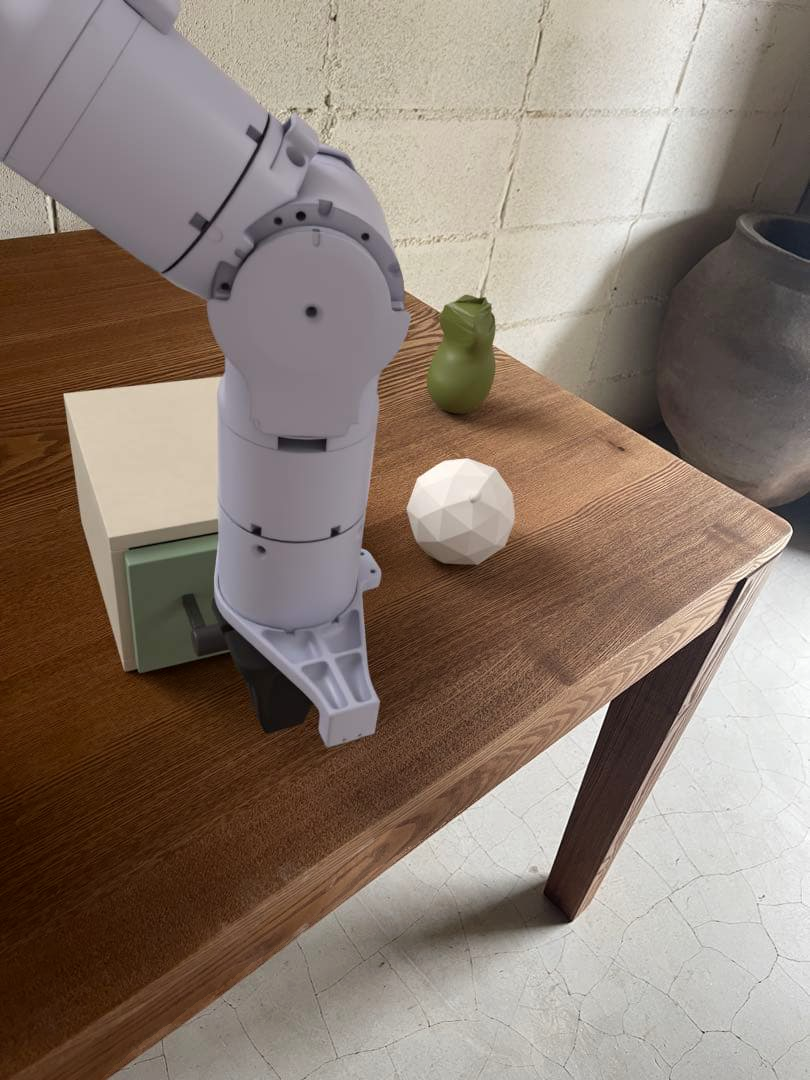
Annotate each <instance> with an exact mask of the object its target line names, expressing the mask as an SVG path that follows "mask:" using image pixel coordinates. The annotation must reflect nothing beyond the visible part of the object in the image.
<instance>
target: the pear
mask: <svg viewBox="0 0 810 1080" xmlns="http://www.w3.org/2000/svg"><path fill="white" fill-rule="evenodd" d="M492 305H493V304H492V303H490V302H488V300H487V296H484V297H483V296H482V297H477V296H474V295H470V294H463V295H462V296H460V297H459V298H457V299H456V300H454V301H451V302H449V303H446V304H444V306H443V309H442V310H441V312H440V313H439V317H438V321H439V325H440V328H441V331H442V333H443V336H442V341H441V342H440V343H439V345H438V347H437V348H436V350H435V352H434V354H433V356H432V359H431V361H430V364H429V367H428V370H427V375H426V389H427V392H428V395H429V396H430V399H431V400H432V401H433V403H434V404H435V405H436V406H437V407H439V408H440V409H441V410H444V411H445V412H448V413H452V414H466V413H469V412H472V411H474V410H476V409H477V408H478V407H480V406H481V405H482V404H483V403H484V401H485V400H486V399H487V398H488V395H489V393H490V392H491V389H492V386H493V384H494V381H495V376H496V368H497V367H496V355H495V351H494V340H495V336H496V330H497V329H496V318H495V317H496V316H495V315H494V313H493V312H492V310H493V307H492Z"/></svg>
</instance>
